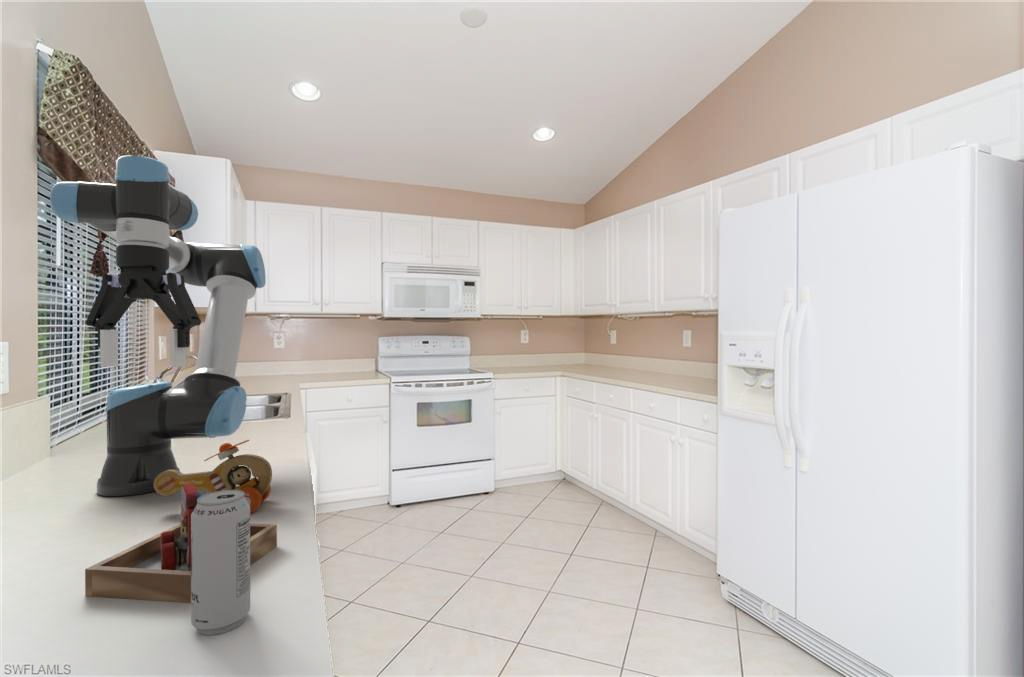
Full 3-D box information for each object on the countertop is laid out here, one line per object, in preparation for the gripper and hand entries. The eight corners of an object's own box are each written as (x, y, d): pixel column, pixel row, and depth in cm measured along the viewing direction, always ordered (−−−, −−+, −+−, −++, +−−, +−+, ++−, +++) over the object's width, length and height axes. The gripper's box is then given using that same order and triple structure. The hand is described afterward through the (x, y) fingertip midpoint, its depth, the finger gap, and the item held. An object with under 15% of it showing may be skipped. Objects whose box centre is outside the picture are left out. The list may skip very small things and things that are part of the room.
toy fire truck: (162, 585, 64) (161, 507, 64) (159, 553, 74) (159, 484, 74) (223, 570, 68) (222, 496, 68) (212, 541, 78) (212, 476, 78)
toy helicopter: (265, 513, 94) (264, 442, 94) (143, 521, 90) (143, 447, 90) (277, 499, 102) (276, 433, 102) (166, 506, 98) (165, 438, 98)
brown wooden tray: (186, 541, 81) (186, 520, 81) (276, 546, 79) (276, 524, 79) (85, 595, 64) (85, 569, 64) (197, 603, 62) (197, 575, 62)
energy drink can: (200, 613, 60) (199, 491, 60) (254, 604, 62) (254, 486, 62) (183, 642, 54) (183, 507, 54) (244, 632, 56) (244, 501, 56)
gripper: (59, 244, 84) (59, 367, 84) (191, 240, 81) (191, 368, 81) (100, 252, 92) (100, 364, 92) (223, 249, 89) (223, 365, 89)
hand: (143, 366), depth 86 cm, fingers open, 13 cm apart
